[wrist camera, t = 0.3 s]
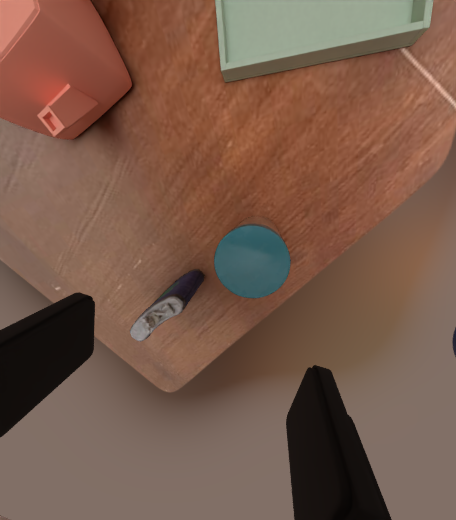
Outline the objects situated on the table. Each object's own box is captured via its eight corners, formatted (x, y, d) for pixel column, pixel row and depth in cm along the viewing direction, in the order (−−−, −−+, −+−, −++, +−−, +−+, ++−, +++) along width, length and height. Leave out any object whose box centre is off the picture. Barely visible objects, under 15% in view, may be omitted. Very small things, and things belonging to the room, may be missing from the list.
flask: (168, 310, 35) (129, 355, 25) (156, 296, 35) (111, 337, 25) (208, 278, 32) (183, 315, 22) (196, 263, 32) (164, 294, 22)
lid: (288, 220, 19) (291, 222, 17) (289, 289, 21) (291, 298, 19) (215, 225, 20) (210, 228, 19) (221, 290, 22) (218, 298, 20)
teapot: (-15, 61, 29) (-252, -53, 16) (96, -80, 23) (-136, -463, 10) (73, 195, 32) (-59, 194, 19) (191, 104, 26) (117, 8, 13)
